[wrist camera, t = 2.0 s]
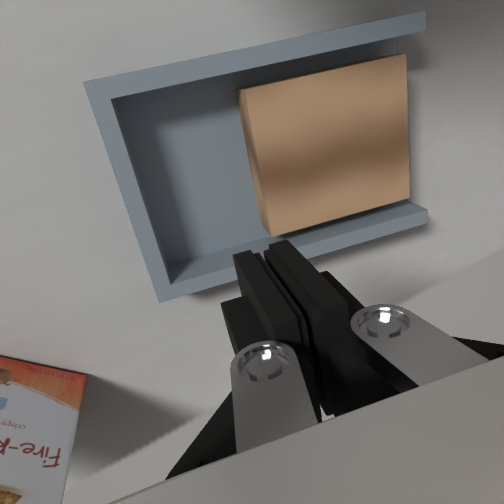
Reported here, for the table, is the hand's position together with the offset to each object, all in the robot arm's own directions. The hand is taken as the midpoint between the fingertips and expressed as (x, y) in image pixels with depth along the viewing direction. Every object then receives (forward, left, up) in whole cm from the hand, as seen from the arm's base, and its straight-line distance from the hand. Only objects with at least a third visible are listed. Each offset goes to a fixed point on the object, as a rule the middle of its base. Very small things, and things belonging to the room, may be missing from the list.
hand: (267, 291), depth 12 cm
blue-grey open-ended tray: (0, +5, -16) cm, 17 cm away
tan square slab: (0, +8, -16) cm, 18 cm away
